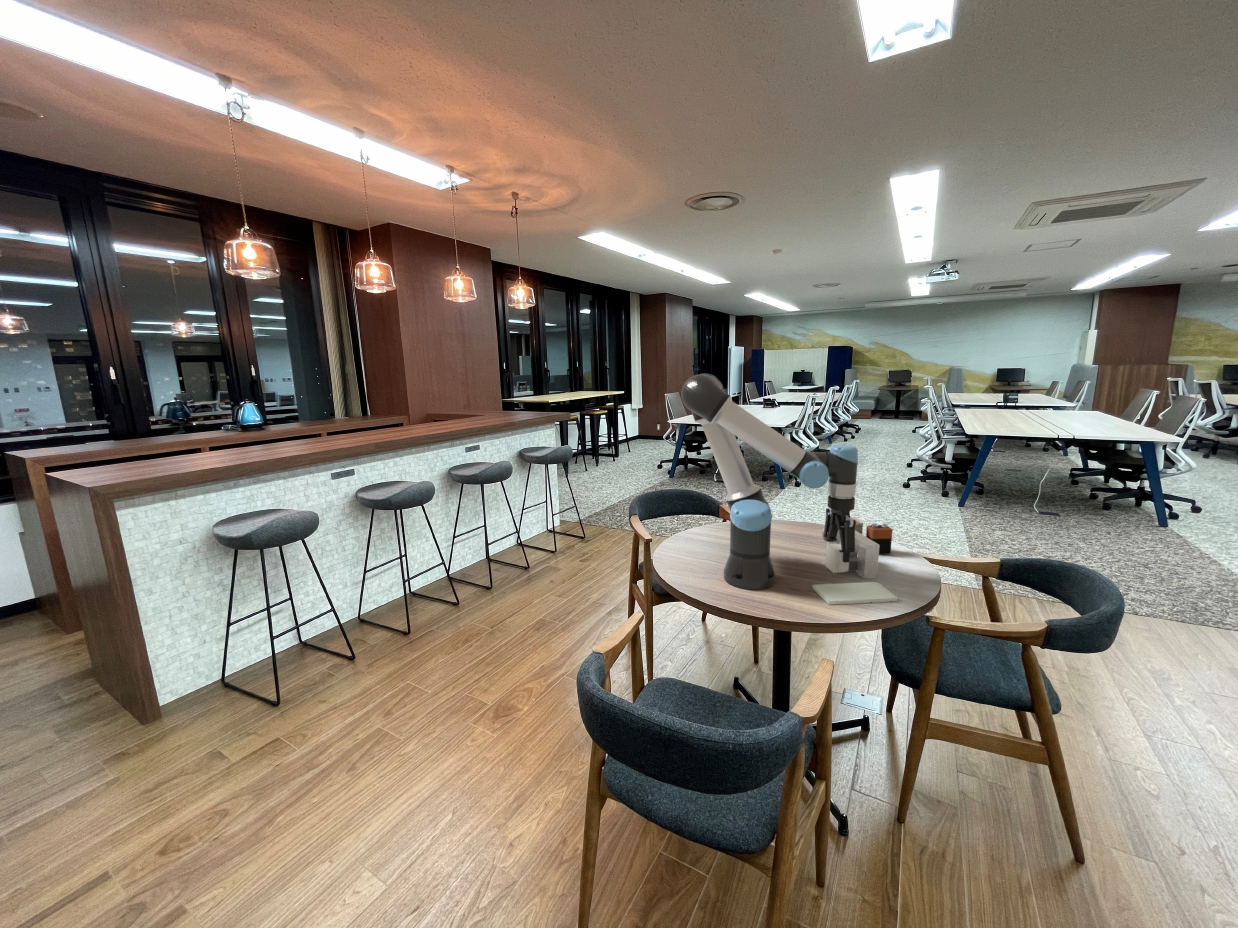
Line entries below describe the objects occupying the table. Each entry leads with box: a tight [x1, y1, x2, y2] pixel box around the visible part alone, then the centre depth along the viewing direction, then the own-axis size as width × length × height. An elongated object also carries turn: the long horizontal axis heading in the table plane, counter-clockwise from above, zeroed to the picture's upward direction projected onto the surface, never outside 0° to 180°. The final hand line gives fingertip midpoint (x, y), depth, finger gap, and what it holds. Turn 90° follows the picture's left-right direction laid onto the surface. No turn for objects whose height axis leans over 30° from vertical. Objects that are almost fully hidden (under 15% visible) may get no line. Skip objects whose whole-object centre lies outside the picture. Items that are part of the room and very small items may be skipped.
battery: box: [865, 523, 893, 555], centre depth 161 cm, size 4×7×10 cm, turn 89°
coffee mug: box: [821, 516, 864, 548], centre depth 166 cm, size 13×10×10 cm
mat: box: [811, 581, 899, 605], centre depth 132 cm, size 19×10×1 cm, turn 93°
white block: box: [825, 543, 858, 574], centre depth 148 cm, size 14×5×8 cm, turn 93°
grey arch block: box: [840, 530, 880, 580], centre depth 148 cm, size 4×15×10 cm, turn 3°
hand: (837, 565), depth 149 cm, fingers open, 7 cm apart
